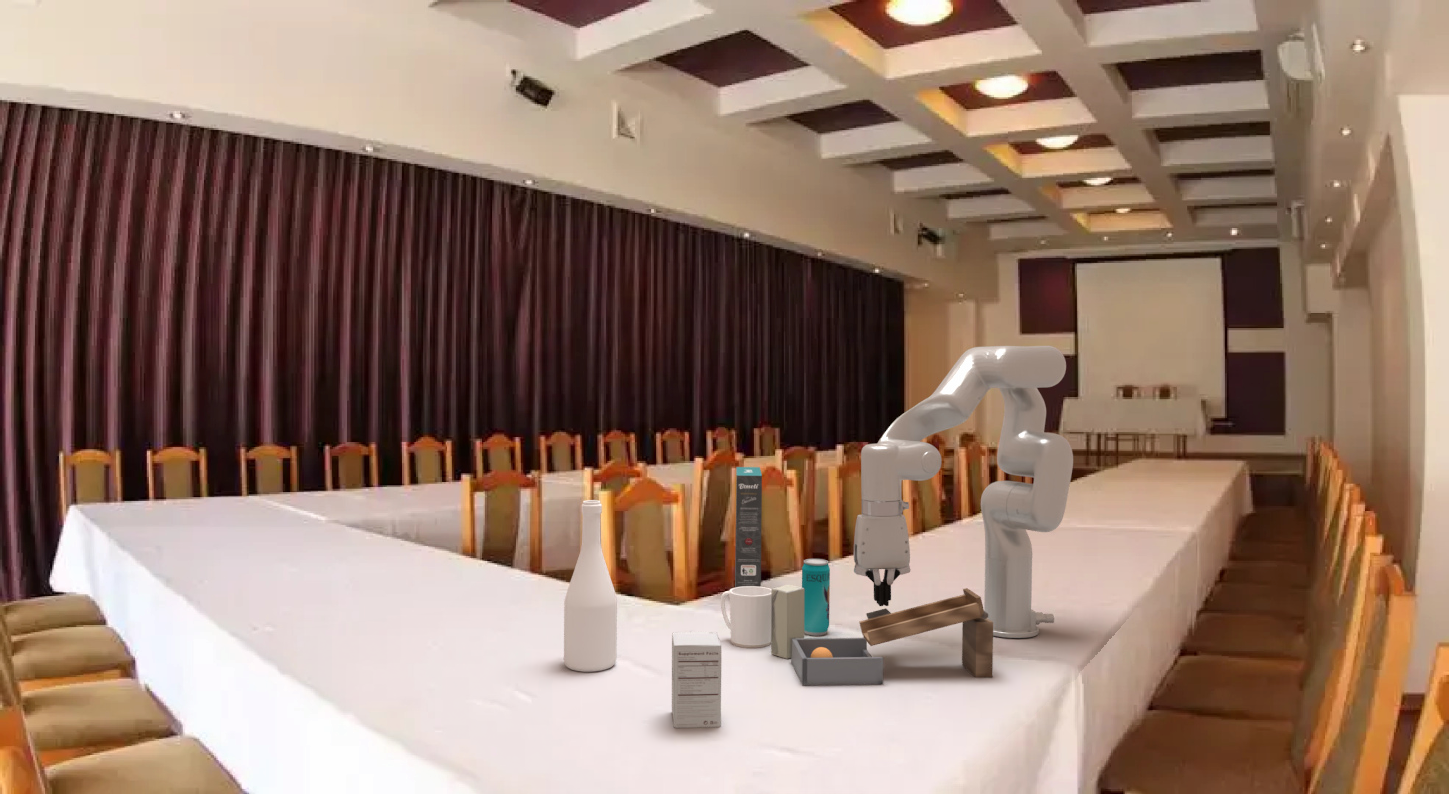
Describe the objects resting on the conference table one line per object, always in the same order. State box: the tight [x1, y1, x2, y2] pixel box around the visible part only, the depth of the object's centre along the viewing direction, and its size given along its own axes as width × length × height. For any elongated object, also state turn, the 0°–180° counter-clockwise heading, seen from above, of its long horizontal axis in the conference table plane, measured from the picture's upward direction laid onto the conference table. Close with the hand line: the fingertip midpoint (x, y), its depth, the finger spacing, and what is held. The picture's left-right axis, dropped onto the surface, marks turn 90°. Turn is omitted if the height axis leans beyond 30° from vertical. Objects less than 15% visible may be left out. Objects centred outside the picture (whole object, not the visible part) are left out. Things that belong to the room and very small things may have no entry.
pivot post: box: [961, 617, 994, 679], centre depth 168 cm, size 3×8×12 cm, turn 4°
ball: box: [811, 647, 833, 658], centre depth 165 cm, size 4×4×4 cm
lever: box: [858, 587, 988, 647], centre depth 171 cm, size 22×16×4 cm
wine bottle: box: [563, 499, 618, 673], centre depth 168 cm, size 10×10×30 cm
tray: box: [790, 637, 884, 686], centre depth 165 cm, size 14×13×4 cm
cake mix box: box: [734, 466, 763, 588], centre depth 229 cm, size 22×6×30 cm, turn 179°
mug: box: [720, 586, 772, 649], centre depth 185 cm, size 11×9×10 cm
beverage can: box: [801, 558, 831, 637], centre depth 192 cm, size 6×6×15 cm
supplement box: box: [671, 631, 722, 729], centre depth 142 cm, size 7×7×13 cm
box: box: [770, 584, 805, 660], centre depth 176 cm, size 5×4×13 cm
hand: (882, 604), depth 176 cm, fingers closed
